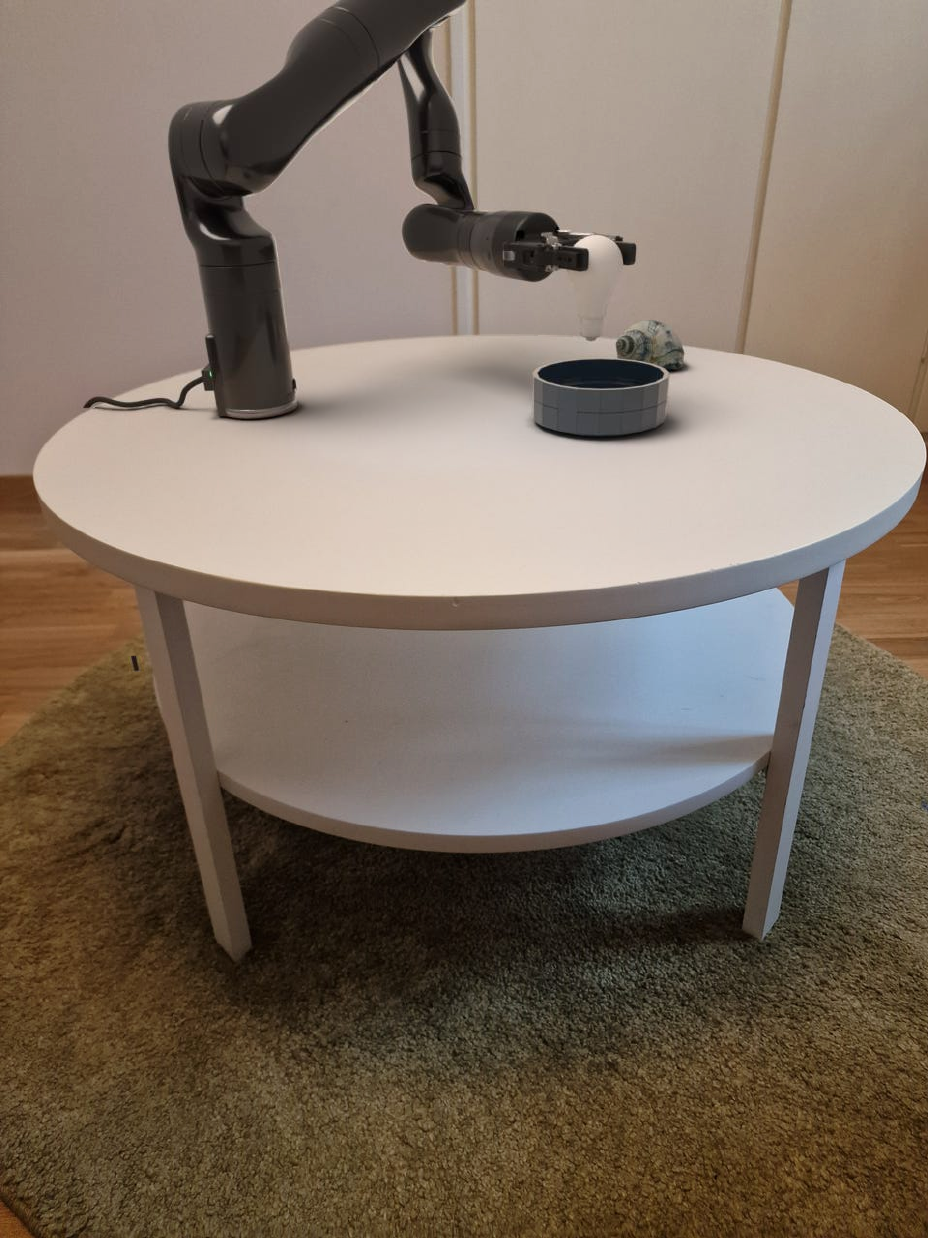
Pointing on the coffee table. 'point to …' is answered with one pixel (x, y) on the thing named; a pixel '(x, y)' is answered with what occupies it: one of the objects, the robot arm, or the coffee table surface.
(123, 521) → the coffee table surface
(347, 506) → the coffee table surface
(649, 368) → the bowl
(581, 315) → the lightbulb
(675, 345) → the seashell
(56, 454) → the coffee table surface
